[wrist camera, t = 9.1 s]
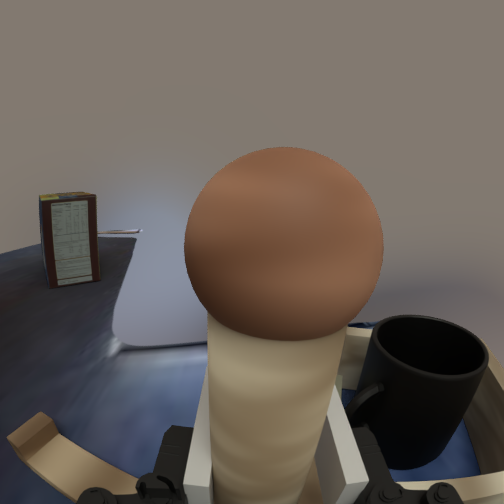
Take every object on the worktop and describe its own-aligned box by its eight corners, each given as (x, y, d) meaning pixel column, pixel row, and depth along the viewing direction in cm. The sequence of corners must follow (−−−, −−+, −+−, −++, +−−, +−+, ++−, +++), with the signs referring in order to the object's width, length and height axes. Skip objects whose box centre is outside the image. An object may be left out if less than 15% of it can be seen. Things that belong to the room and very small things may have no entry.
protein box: (85, 260, 62) (83, 191, 58) (101, 281, 51) (97, 194, 47) (43, 266, 55) (38, 194, 52) (48, 289, 44) (40, 198, 40)
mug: (297, 424, 22) (315, 331, 20) (400, 387, 26) (425, 307, 24) (360, 506, 14) (412, 414, 11) (464, 438, 18) (507, 350, 16)
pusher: (180, 562, 9) (94, 138, 5) (260, 401, 24) (278, 169, 20) (296, 590, 8) (496, 160, 3) (332, 413, 23) (373, 177, 18)
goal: (308, 545, 11) (334, 504, 9) (335, 378, 28) (346, 326, 27) (510, 525, 7) (562, 473, 6) (462, 386, 25) (481, 338, 23)
